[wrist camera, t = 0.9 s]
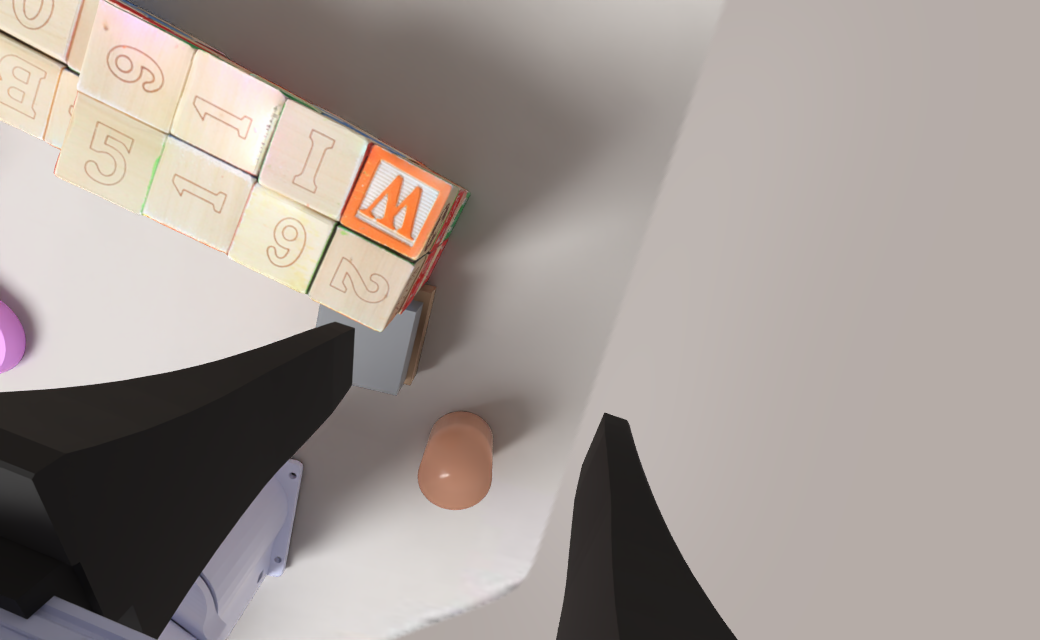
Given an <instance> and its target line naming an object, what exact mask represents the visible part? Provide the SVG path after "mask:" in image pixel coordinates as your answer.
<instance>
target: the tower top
mask: <svg viewBox="0 0 1040 640" xmlns="http://www.w3.org/2000/svg"><path fill="white" fill-rule="evenodd" d="M422 307H423V302H419V301H415V300H412V302H411V303H410V304H409V306H407V308H406V309H405V311H404V312H403V313H402V314H401V315H400V314H397V315H396V316H395V317H394V318H393V320H392V321H391V322H390V323H389V324H388V326H387V327H386V328H385V329H384V330H383V331H382V332H378V331H375V330H373V329H371V328H368V327H366V326H364V325H362V324H360V323H358V322H356V321H354V320H352V319H350V318H348V317H346V316H344V315H342V314H340V313H338V312H336V311H334V310H332V309H330V308H328V307H326V306H324V305H322V304H320V307H319V312H318V318H317V324H316V327H319V326H322V325H325V324H328V323H332V322H338V323H341V324H344V325H347V326H350V327H353V328H355V339H354V359H353V378H352V385H353V386H358V387H362V388H366V389H370V390H375V391H379V392H383V393H387V394H392V395H396V396H397V394H398V393H399V391H400V389H401V387H402V385H403V383H404V381H405V380H406V376H407V371H408V367H409V363H410V358H411V354H412V350H413V346H414V341H415V337H416V333H417V328H418V324H419V320H420V316H421V311H422Z"/></svg>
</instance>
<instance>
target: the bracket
mask: <svg viewBox="0 0 1040 640" xmlns="http://www.w3.org/2000/svg"><path fill="white" fill-rule="evenodd" d="M25 347H26V338H25V333H24V330H23V327H22V325H21V323H20V321H19V319H18V318H17V316H16V315H15V313H14V312H13V311H12V310H11V309H10V308H9V307H8V306H7V305H6V304H5V303H3V302H2V301H1V300H0V374H1V373H3V372H6V371H8V370H10V369H12V368H13V367H15V366H16V365H17V364H18V363H19V362H20V360H21V359H22V357H23V355H24V352H25Z"/></svg>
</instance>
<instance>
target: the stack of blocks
mask: <svg viewBox="0 0 1040 640" xmlns="http://www.w3.org/2000/svg"><path fill="white" fill-rule="evenodd" d="M0 121H3V122H5V123H7V124H9V125H11V126H13V127H15V128H17V129H20V130H22V131H24V132H26V133H28V134H30V135H32V136H34V137H36V138H38V139H41V140H44V141H46V142H47V143H48V144H50V145H52V146H53V147H55V148H58V149H60V153H59V156H58V159H57V162H56V165H55V169H54V174H55V176H56V177H58V178H60V179H62V180H65V181H67V182H69V183H71V184H73V185H75V186H78V187H80V188H82V189H84V190H86V191H88V192H90V193H93V194H95V195H97V196H99V197H101V198H104V199H106V200H108V201H110V202H112V203H114V204H116V205H118V206H120V207H122V208H125V209H127V210H129V211H131V212H133V213H135V214H137V215H145V216H147V217H149V218H151V219H153V220H155V221H157V222H158V223H160V224H162V225H165V226H167V227H169V228H171V229H173V230H175V231H177V232H180V233H182V234H184V235H186V236H189V237H191V238H193V239H195V240H197V241H199V242H201V243H203V244H205V245H207V246H209V247H211V248H214V249H216V250H218V251H221V252H224V253H226V254H227V256H228V257H229V258H230V259H231V260H233V261H235V262H237V263H239V264H241V265H243V266H245V267H248V268H250V269H252V270H254V271H256V272H258V273H260V274H262V275H264V276H266V277H268V278H271V279H273V280H275V281H277V282H279V283H281V284H283V285H285V286H287V287H289V288H291V289H293V290H296V291H298V292H300V293H303V294H308V296H309V297H310V298H311V299H312V300H314V301H316V302H318V303H320V304H322V305H324V306H326V307H328V308H330V309H332V310H334V311H336V312H338V313H340V314H342V315H344V316H346V317H348V318H350V319H352V320H354V321H356V322H358V323H360V324H362V325H364V326H366V327H368V328H371V329H373V330H375V331H378V332H382V331H383V330H384V329H385V328H386V327H387V326H388V324H389V323H390V322H391V321H392V320H393V318H394V317H395V316H396V315H397V314H400V315H401V314H402V313H403V312H404V311H405V309H406V308H407V306H409V304H410V303H411V302H412V300H413V298H414V296H415V295H416V294H417V292H418V291H419V289H421V288H422V286H424V284H425V283H426V282H427V281H428V279H429V277H430V275H431V273H432V271H433V269H434V267H435V265H436V263H437V261H438V259H439V257H440V255H441V253H442V251H443V249H444V247H445V245H446V243H447V241H448V238H449V235H450V233H451V231H452V229H453V227H454V225H455V223H456V221H457V219H458V218H459V216H460V214H461V212H462V210H463V208H464V206H465V204H466V202H467V200H468V198H469V196H470V194H471V193H470V192H469V191H468V190H466V189H464V188H463V187H461V186H459V185H457V184H455V183H454V182H452V181H450V180H448V179H447V178H445V177H443V176H441V175H439V174H438V173H436V172H434V171H432V170H431V169H429V168H427V167H426V166H425V165H424V164H422V163H420V162H418V161H417V160H415V159H413V158H411V157H410V156H408V155H406V154H404V153H402V152H401V151H399V150H397V149H395V148H393V147H392V146H390V145H388V144H386V143H385V142H383V141H381V140H379V139H377V138H376V137H374V136H372V135H371V134H369V133H367V132H365V131H364V130H362V129H360V128H358V127H357V126H355V125H353V124H351V123H349V122H348V121H346V120H344V119H342V118H341V117H339V116H337V115H335V114H333V113H331V112H329V111H327V110H325V109H323V108H321V107H319V106H316V105H313V104H311V103H309V102H307V101H305V100H304V99H302V98H300V97H298V96H296V95H295V94H293V93H291V92H289V91H287V90H286V89H284V88H282V87H280V86H278V85H276V84H274V83H273V82H271V81H269V80H267V79H265V78H263V77H261V76H259V75H257V74H255V73H253V72H251V71H249V70H247V69H246V68H244V67H242V66H240V65H238V64H237V63H235V62H233V61H231V60H229V59H227V56H226V55H225V54H224V53H222V52H220V51H218V50H217V49H215V48H213V47H211V46H209V45H208V44H206V43H204V42H202V41H201V40H199V39H197V38H195V37H193V36H192V35H190V34H188V33H186V32H184V31H183V30H181V29H179V28H177V27H176V26H174V25H172V24H170V23H168V22H166V21H164V20H162V19H160V18H159V17H157V16H155V15H153V14H151V13H149V12H147V11H145V10H143V9H141V8H139V7H137V6H135V5H133V4H132V3H130V2H128V1H126V0H0Z"/></svg>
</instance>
